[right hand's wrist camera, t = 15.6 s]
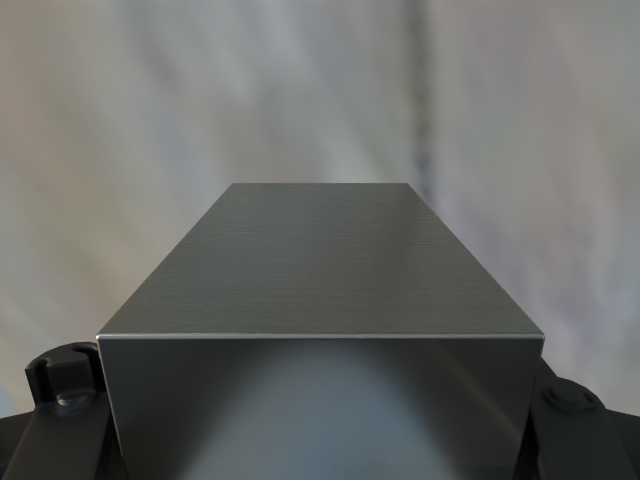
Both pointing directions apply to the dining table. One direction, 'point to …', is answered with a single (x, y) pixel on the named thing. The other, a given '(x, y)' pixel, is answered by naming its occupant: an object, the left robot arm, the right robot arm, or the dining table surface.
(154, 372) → the box
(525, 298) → the dining table surface
